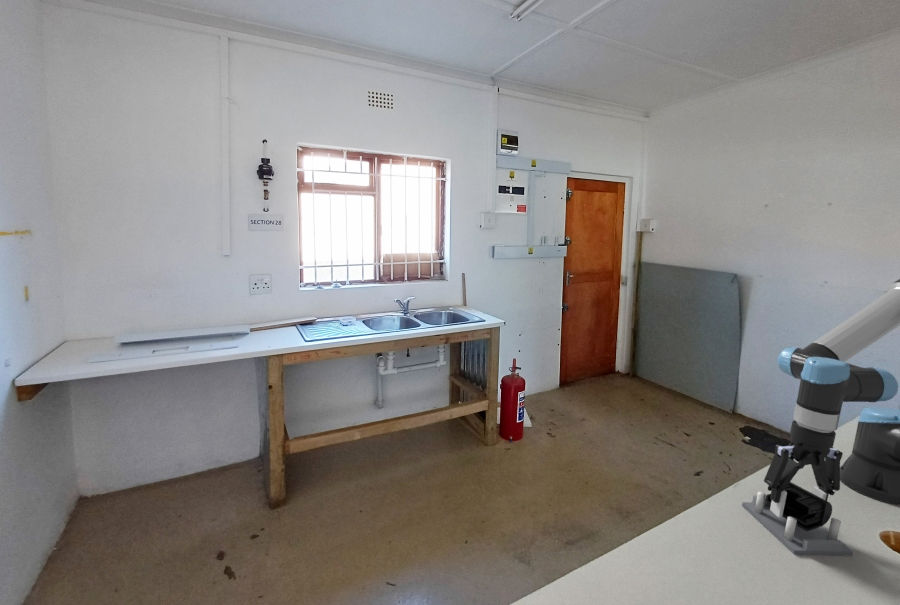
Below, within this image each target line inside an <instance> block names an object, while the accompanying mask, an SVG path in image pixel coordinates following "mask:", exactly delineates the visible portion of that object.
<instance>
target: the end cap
mask: <svg viewBox="0 0 900 605" xmlns="http://www.w3.org/2000/svg"><path fill="white" fill-rule="evenodd" d="M778 484H780V483H778ZM771 490H772V487H770V486H769V485H767V491H769V492H771ZM784 490H785V491H786V492H787V496H786V501H785V505H784V510H783V515H782V517H784V518H785V519H787V518H788V517H789V516H790V517H793V518H795V519H796V520H797V522H796V525H797V526H799V527H800V528H802V529H803V530H805V531H810V530H813V529H816V528H819V527H820V526H821V527H823V526H824V525H826V524H827V523H828V521H829V520H831V519H830V518H832V517H831V516H832V513H833V506H832V504H831V503H830V502H829V501H828V500H827V501H826V500H824V499H822V498H820V497H818V496H816V495H814V494H812V492H810V491H809V490H806V489H805V488H803V487H801V486H799V485H797V484H795V483H793V482H792V481H790V483H789V484H788V485H787V487H786V488H785V489H784ZM770 495H771V493H768V494H766V501H767V502H768V503H766V507H768V508H769V509H770V506H771V501H772V500H771V499H770Z"/></svg>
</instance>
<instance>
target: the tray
mask: <svg viewBox="0 0 900 605" xmlns="http://www.w3.org/2000/svg"><path fill="white" fill-rule="evenodd" d="M766 495H767V494H766V493H765V492H763V491H757V494H756V495H753V496H752V500H751V501H752V502H749V501H747V502H743V501H742V503H741V507H742V508H744V509H745V510H746V511H747V513H749V514H750V515H751V516H752V517H753V518H754V519H755V520H757V522H759V523H760V524H761V525H762V527H764V528H765V529H766V530H767V531H768V532H769V533H771V535H773V536H774V537H775V538H776V539H777V541H779V542H780V543H781V544H782V545H783V546H784V547H785V548H786V549H787V550H788V551H789V552H791V553H792V555H805V556H806V555H807V556H810V555H811V556H813V555H814V556H839V557H840V556H841V557H853V555H854V551H853V550H851V549H850V548H849V547H848V546H847V545H845V544H844V542H842V540H840V539H838V537H839V534H840V529H841V528H840V527H841V524H842V521H841V520H840V519H838V518H836V517H830V518H831V519H830V523H829V527H828V530H826V529H825V528H824V527H823V526H820V527H819V528H816V529H813V530H810V531H805V530H803V529H802V528H800V527H799V526H797V525H796V522H797V520H796V519H795V518H793V517H790V516H789V517H788V518H787V519H785V518H784V517H782V518H779V517H778V516H776V515H775V514H774V513H773V512H772V511H771V510H770V509H769V508H768V507H766V503H768V502H767V501H766Z"/></svg>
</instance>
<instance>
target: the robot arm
mask: <svg viewBox="0 0 900 605" xmlns="http://www.w3.org/2000/svg"><path fill="white" fill-rule="evenodd" d="M898 327H900V278H899V279H897V280H895V281H894V282H892V283H891V284H889V286H887V288H886V293H884V294H883V295H881V296H880V297H878V298H877V299H875V300H874V301H872V302H871V303H869V304H868V305H866V306H865V307H863V308H862V309H860V310H859V311H857V312H855V313H854V314H852V315H851V316H850V317H848V318H847V319H846V320H844V321H842V322H840V323H839V324H838V325H836V326H835V327H834V328H832V329H830V330H829V331H827V332H826V333H825V334H823V335H821V336H820V337H819V338H817V339H815V340H814V341H812V342H811V343H810V344H808V345H807V346H805V347H804V348H801V347H795V346H792V347H786V348H785V349H783V350H782V351H781V352H780V353H779V355H778V357H777V365H778V369H779V370H780V372H782V373H784V374H785V375H786V374H787V375H788V376H790V377H792V378H794V379H798V380H799V381H800V382H799V387H798V393H797V397H796V402H795V407H794V412H793V417H792V418H793V420H792V422H791V426H790V431H789V435H790V438H791V441H790V443H789V444H788V445H786V446H782V445H780V444H776V445H775V447H774V449H775V450H774V455H773V457H772V460H771V462H770V464H769V467H768V469H767V471H766V475H765V477H764V479H763V482H764V483H765V484H767V486H770V487H772V490H771V491H770V494H771V495H770V499H771V500H772V501H771V506H770V510H771V511H772V512H773V513H774V514H775V515H776V516H778V517H779V518H782V515H783V510H784V505H785V501H786V496H787V492H786V491H785V490H784V489H785V488H786V487H787V485H788V484H789V483H790V482H792V480H793V478H794V477H795V476H796V474H797V473H798V472H799V470H802V469H803V468H804V467H805V466H809V465H811V469H812V472H813V476H814V478H815V483H816V485H817V486H812V490H811V491H812V492H811V493H812V494H814V495H816V496H818V497H820V498H822V499H824V500H826V501H828V498H829V495H830V496H835V493H836V492H838V491H840V488H841V483H843V484H844V485H845V486H847V487H848V488H850V489H851V490H854V491H855V492H857V493H859V494H861V495H864V496H867V497H868V498H872V499H875V500H876V501H881V502H884V503H888V504H893V505H899V506H900V409H897V408H890V407H880V406H869V407H865V408H863V409H862V411H861V413H860V415H859V418H858V419H857V427H856V430H855V431H856V432H855V437H854V442H853V445H852V450H851V454H850V455H849V456H848V457H847V459H845V461H844V463H843V464H842V465H841V460H842V457H843V454H844V453H843V452H842V451H840V450H839V449H837V448H835V447H834V444H835V439H836V431H837V430H838V427H839V423H840V417H841V412H842V407H843V403H849V402H851V403H853V402H854V403H858V402H859V403H865V402H867V403H877V402H885V401H886V402H887V401H890V400H892V399H893V398H895V396H896V395H897V394H898V391H899V383H898V381H897V379H896V377H895V376H894V375H893V374H892V373H891V372H890V371H889V370H886V369H884V368H883V369H882V368H879V367H872V366H871V367H870V366H867V367H862V366H858V365H856V364H852V363H848V362H847V361H848V360H851V358H853V357H855V356H856V355H857V354H859V353H860V352H862V351H863V350H865V349H866V348H868V347H870V346H871V345H873V344H874V343H876V342H877V341H879V340H880V339H882V338H884V337H885V336H887V335H888V334H889V333H891V332H892V331H893V330H895V329H897V328H898ZM778 483H780V484H778ZM835 491H836V492H835Z"/></svg>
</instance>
